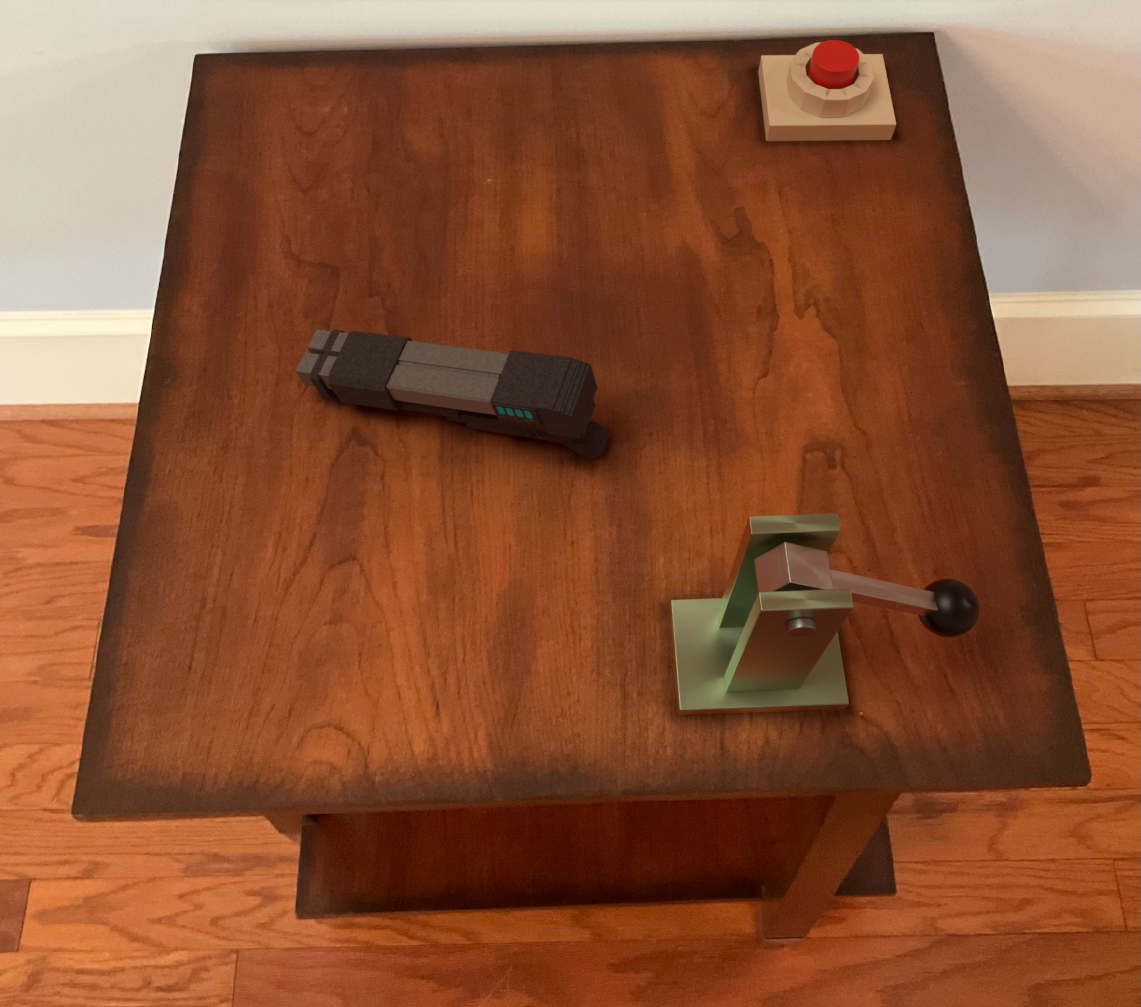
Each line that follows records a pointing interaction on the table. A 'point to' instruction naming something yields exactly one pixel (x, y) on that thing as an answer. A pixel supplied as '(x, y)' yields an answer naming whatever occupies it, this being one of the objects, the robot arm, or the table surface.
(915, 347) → the table surface
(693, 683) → the switch bracket
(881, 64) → the button box
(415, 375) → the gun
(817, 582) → the switch lever
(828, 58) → the red button
